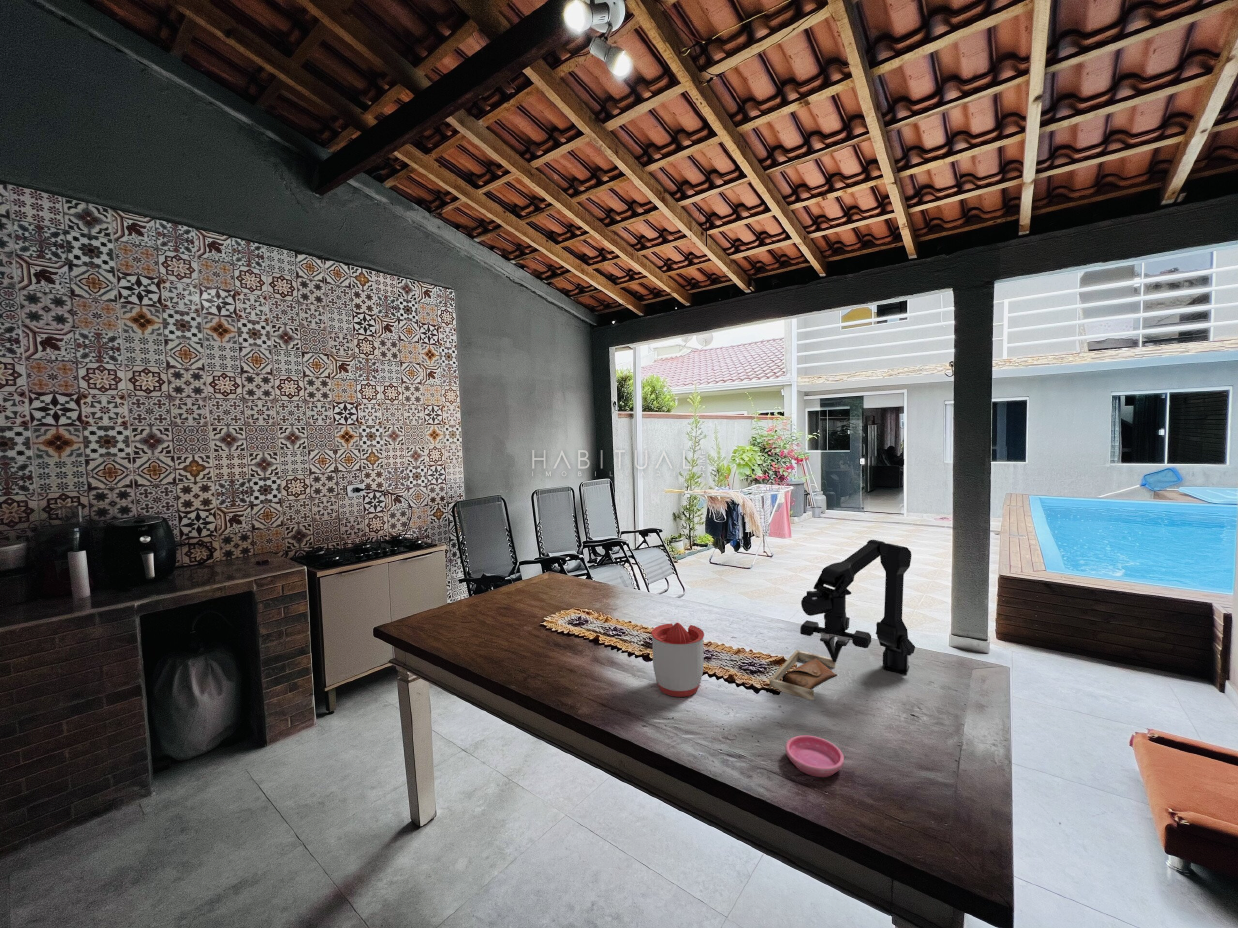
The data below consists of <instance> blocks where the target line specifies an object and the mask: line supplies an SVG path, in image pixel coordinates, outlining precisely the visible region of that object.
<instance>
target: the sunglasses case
mask: <svg viewBox="0 0 1238 928" xmlns="http://www.w3.org/2000/svg"><path fill="white" fill-rule="evenodd" d="M837 676H838V674H837V673H835V672H834V671H832V670H831V669H830V668H829V667H828V666H825V665H823V664H822V663H821V662H820V661H819V660H817V658H815V659H813V660H811V661H809V662H808V661H806V662H805V663H802V664H801V665H799V666H796V667H795V668H794V669H792V670H790V671H788V672H787V673H786V674H784V676H783V678H782V679H781V680H782V682H786V683H789V684H793V685H796V686H800V687H804V688H807V689H811V690H814V688H815V687H817V686H819V685H821V684H823V683H824V682H826V681H828V680H830V679H833V678H834V677H837Z"/></svg>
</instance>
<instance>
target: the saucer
mask: <svg viewBox="0 0 1238 928" xmlns="http://www.w3.org/2000/svg"><path fill="white" fill-rule="evenodd" d="M784 748H785V753H786V756H787V758H788V759H789V761H791V763H792V764H793V765H794V766H795V767H796V768H797V769H798V770H799V771H801V772H802V773H804V774H807V775H809V776H812V777H816V778H825V777H826V778H827V777H830V776H832V775H834V774H836V773H837V772H839V771H840V770H841V769H842V768H843V766H844V763H845V756H844V754H843V752H842V751H841V749H840V748H839V747H838V746H837V745H835V744H834V743H833V742H830V741H829V740H827V739H825V738H822V737H819V736H815V735H806V734H805V735H803V734H802V735H797V736H794V737H791V738H789V739H788V740H787V742H786V744H785V747H784Z"/></svg>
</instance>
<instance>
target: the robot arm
mask: <svg viewBox="0 0 1238 928" xmlns="http://www.w3.org/2000/svg"><path fill="white" fill-rule="evenodd" d="M877 558H879V559H880V564H881V566H882V568H883V570H884V571H885V581H884V585H885V586H884V608H883V610H884V614H883V615H884V616H883V618H882V619H881V620H880V621H877V622H876V624H875V625H876V630H875V631H876V632H875V635H876V638H877V641H878V642H879V646H880V647H883V648H884V650H883V652H882V665H883V670H885V671H890V672H894V673H898V674H903V675H908V672H909V670H910V665H909V656H910V657H911V656H912V655H913V654H914V653H915V649H916V646H915V644H914V643H913V642H912V641H911V640H910V639H909V635H908V634H909V632H908V628H907V627H906V624H905V622H904V620H903V606H904V605H903V602H904V582H905V581H904V579H905V573H906V572H908V569H909V568H910V567H911V561H912V551H911V550H910V549H909V548H908V547H906V546H902V545H898V544H894V543H888V542H887V543H886V542H885V541H881V540H878V539H869V540H868V541H866V544H865V545H863V546H862V547H860V548H859V549H858V550H857V551H855V552H854V553H852V554H851V555H849V556H847V558H845V559H844V560H842V561H840V562H838V561H837V562H833V563H831V564H829V565H827V566H825V567H824V568H823V569H821V573H820V574H819V577H818V578H817V580H816V582H815V584H814V586H813V590H807V591H806V595H804V596H803V597H802V598H801V602H800V604H801V609H802V611H803V612H804V613H805V615H807V616H809V617H813V616H815V615H816V616H817V615H822V614H823V619H824V626H822V627H821V626H819V625H820V624H819V622H817V621H812V620H805V621H804V622H803V623H802V624H801V625H800V628H799V629H800V630H799V631H800V632H799V633H800V634H801V635H803V636H807V637H812V635H814V633H815V634H820V638H819V641H820V642H822V643H823V644H824V646H825V647H826V650H827V652H828V654H829V656H830V658H831V659H832V661H833V662H835V663H836V664H837V662H838V659H839V656H840V653H841V651H842V649H843V647H847V646H848V644H849V643H850V641H851V643H852V644H853V646H854V647H858V648H863V649H869V646H870V645H871V643H872V635H871V633H870V632H867V631H862V630H855V631H854V633H852V632H849V631H848V630H849V628H850V620H851V619H850V617H848V616H847V609H846V607H847V606H846V601H847V600H846V599H847V597H846V596H850V595H852V591H850V590H849V589H848V587H849V586H851V584H852V583H853V582H854V580H855V576H856V575H857V574H858V573H859V572H861V571H862V570H864V569H865V568H866V567H867V566H869V565H870V564H871V563H872V562H874V561H876V559H877ZM847 631H848V632H847ZM835 638H837V640H836V641H835Z"/></svg>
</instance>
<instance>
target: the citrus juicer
mask: <svg viewBox="0 0 1238 928" xmlns="http://www.w3.org/2000/svg"><path fill="white" fill-rule="evenodd" d="M651 637H652V666H653V672H654V676H655V681H656V684H657V687H658V689H659V690H660V691H661V692H662V693H663V694H665V695H668V696H672V697H678V698H684V697H690V696H692V695H694V694H696V693H697V692H698V690H699V687H700V685H701V682H702V677H703V673H704V661H705V660H704V655H705V654H704V638H705V632H704V630H702V629H701V627H699V626H696V625H692V624H690V625H689V627H688V628H687V629H686V628H685V627H684V626H683V625H682V624H681V623H680V622H674V624H673V623H665V624H661V625H658V626H656V627H654V628H653V629H652V630H651Z"/></svg>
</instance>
